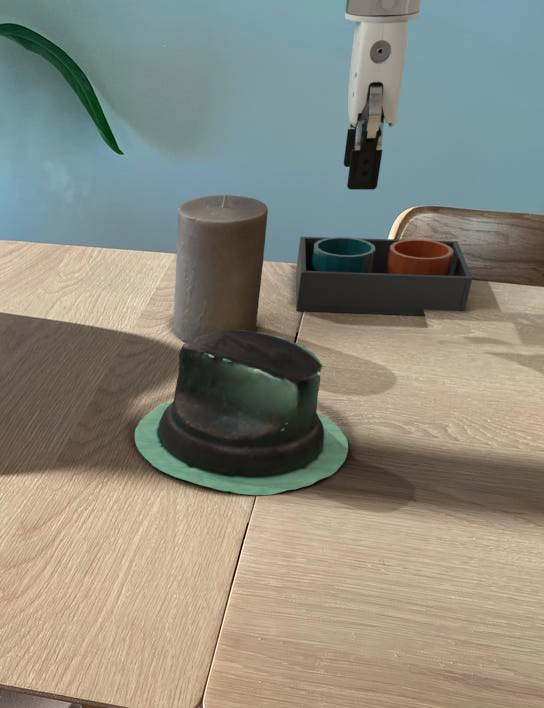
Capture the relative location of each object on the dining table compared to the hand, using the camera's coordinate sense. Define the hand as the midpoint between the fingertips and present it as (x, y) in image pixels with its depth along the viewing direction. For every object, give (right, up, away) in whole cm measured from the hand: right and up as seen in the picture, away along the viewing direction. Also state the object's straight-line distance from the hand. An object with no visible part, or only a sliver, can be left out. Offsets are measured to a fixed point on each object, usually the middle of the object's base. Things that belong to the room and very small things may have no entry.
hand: (359, 177), depth 113 cm
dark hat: (-17, -35, -20) cm, 44 cm away
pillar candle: (-17, -18, +1) cm, 25 cm away
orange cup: (+9, -11, +7) cm, 15 cm away
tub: (+4, -11, +8) cm, 14 cm away
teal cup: (0, -10, +8) cm, 13 cm away
